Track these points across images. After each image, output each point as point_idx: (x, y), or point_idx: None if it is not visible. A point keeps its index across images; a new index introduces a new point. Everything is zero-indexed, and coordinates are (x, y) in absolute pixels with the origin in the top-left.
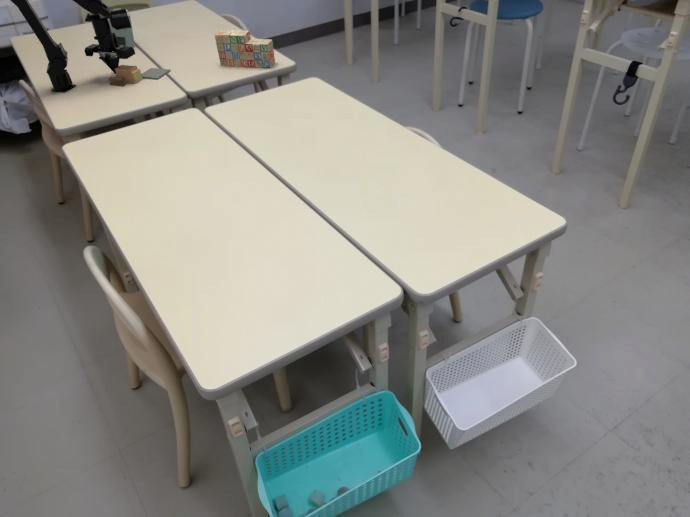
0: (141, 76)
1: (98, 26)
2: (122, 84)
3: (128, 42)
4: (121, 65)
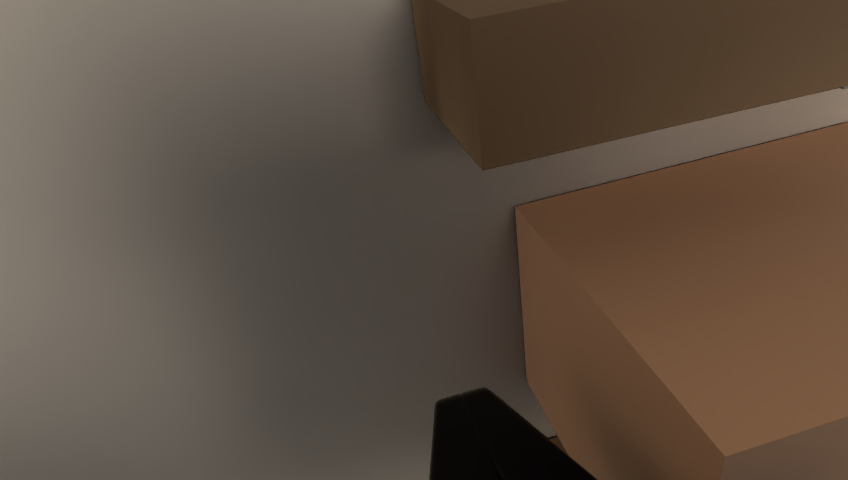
0: None
1: None
2: None
3: None
4: (762, 476)
